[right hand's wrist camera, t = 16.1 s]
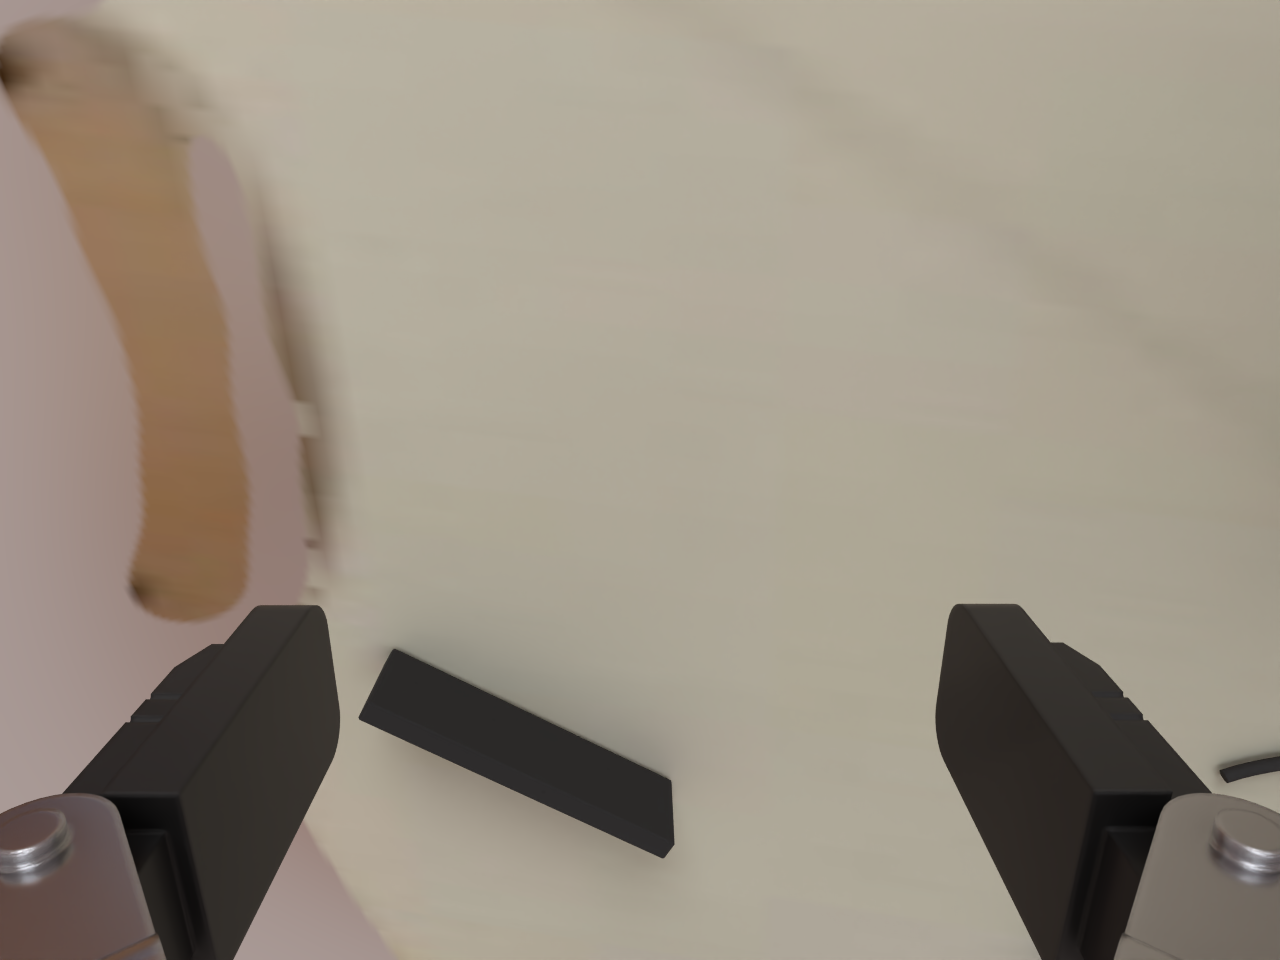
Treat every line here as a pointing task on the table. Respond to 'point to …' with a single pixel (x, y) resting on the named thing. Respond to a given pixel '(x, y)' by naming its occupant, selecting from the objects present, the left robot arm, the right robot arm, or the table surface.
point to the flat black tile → (521, 752)
